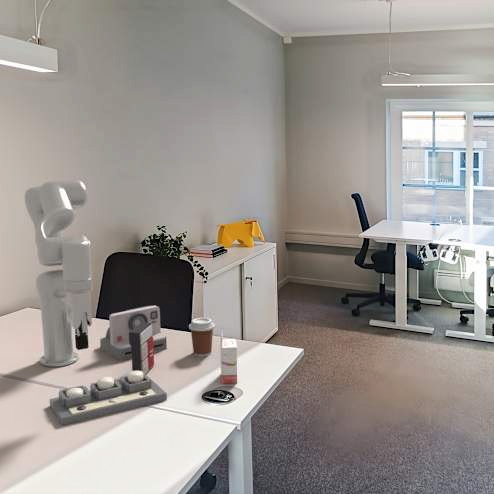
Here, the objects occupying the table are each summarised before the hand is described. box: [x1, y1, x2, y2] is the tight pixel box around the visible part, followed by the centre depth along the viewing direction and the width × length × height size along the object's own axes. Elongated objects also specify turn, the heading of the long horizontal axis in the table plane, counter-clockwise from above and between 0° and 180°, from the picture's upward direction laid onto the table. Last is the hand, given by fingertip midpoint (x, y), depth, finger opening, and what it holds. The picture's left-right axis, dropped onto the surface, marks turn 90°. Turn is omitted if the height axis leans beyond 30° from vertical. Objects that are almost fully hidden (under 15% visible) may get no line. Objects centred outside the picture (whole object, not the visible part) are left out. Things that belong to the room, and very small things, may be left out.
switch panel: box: [49, 373, 168, 426], centre depth 170 cm, size 14×30×4 cm, turn 121°
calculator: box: [129, 323, 155, 375], centre depth 192 cm, size 11×4×15 cm, turn 168°
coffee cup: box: [188, 317, 216, 357], centre depth 209 cm, size 9×9×12 cm
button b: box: [96, 376, 115, 391], centre depth 172 cm, size 5×5×2 cm
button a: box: [66, 387, 83, 398], centre depth 167 cm, size 5×5×2 cm
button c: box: [126, 370, 143, 384], centre depth 176 cm, size 5×5×2 cm
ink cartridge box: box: [220, 330, 238, 385], centre depth 186 cm, size 9×5×15 cm, turn 5°
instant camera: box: [99, 305, 168, 361], centre depth 215 cm, size 21×21×15 cm
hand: (82, 348), depth 166 cm, fingers closed
